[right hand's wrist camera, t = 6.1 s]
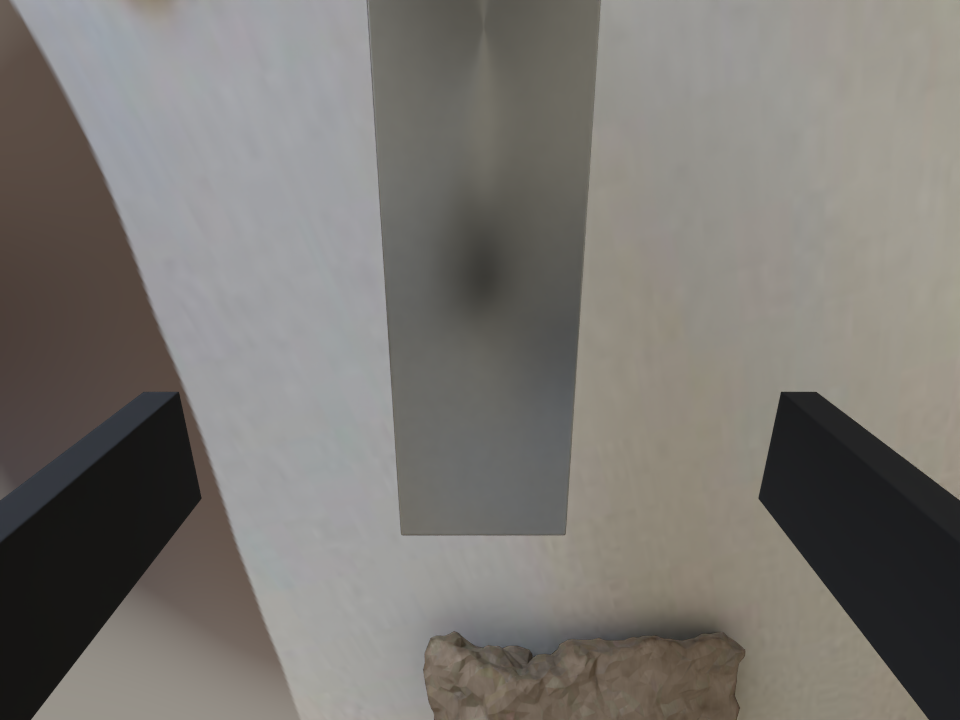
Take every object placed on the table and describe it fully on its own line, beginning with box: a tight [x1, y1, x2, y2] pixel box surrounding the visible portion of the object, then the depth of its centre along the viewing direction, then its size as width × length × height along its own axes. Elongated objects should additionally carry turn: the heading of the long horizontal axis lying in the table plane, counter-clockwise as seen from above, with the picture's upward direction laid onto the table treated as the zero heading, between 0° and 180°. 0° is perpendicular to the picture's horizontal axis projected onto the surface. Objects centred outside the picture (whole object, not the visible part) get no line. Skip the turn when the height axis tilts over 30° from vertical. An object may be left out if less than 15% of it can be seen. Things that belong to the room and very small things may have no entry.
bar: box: [367, 0, 601, 535], centre depth 15 cm, size 25×5×8 cm, turn 0°
